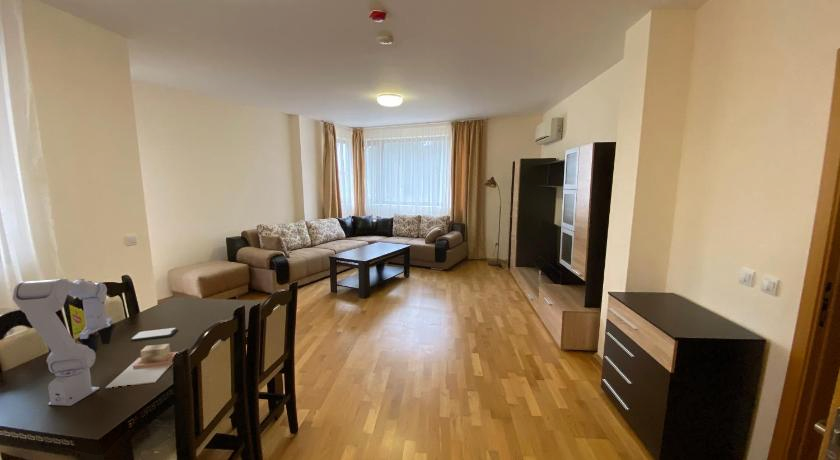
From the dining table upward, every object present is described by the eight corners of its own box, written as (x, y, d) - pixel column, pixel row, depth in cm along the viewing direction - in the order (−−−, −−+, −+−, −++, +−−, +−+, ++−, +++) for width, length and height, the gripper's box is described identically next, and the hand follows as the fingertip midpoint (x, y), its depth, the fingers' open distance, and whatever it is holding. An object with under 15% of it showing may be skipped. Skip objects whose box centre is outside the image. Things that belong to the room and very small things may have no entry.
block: (141, 365, 130) (140, 351, 129) (147, 359, 134) (146, 345, 134) (165, 362, 132) (164, 348, 131) (170, 357, 137) (169, 343, 136)
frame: (178, 354, 139) (178, 351, 139) (168, 364, 131) (168, 362, 131) (145, 357, 136) (144, 355, 136) (133, 368, 128) (132, 365, 128)
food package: (73, 348, 143) (67, 304, 141) (76, 347, 144) (71, 303, 142) (88, 357, 136) (82, 311, 134) (91, 356, 137) (85, 310, 135)
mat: (155, 382, 120) (155, 381, 120) (105, 388, 116) (105, 387, 116) (180, 354, 140) (180, 353, 140) (139, 358, 136) (138, 357, 136)
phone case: (129, 342, 151) (170, 337, 155) (129, 339, 150) (170, 334, 155) (139, 334, 159) (178, 330, 164) (139, 331, 159) (177, 326, 164)
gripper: (94, 320, 117) (99, 356, 119) (120, 306, 131) (123, 338, 133) (70, 322, 116) (75, 359, 117) (98, 308, 129) (102, 340, 131)
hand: (99, 348), depth 125 cm, fingers open, 7 cm apart
